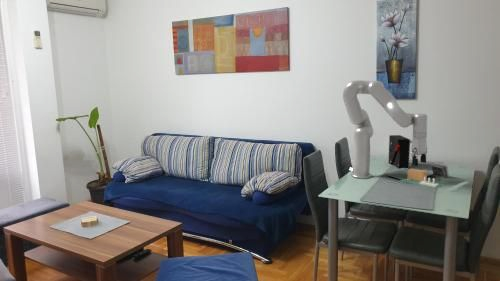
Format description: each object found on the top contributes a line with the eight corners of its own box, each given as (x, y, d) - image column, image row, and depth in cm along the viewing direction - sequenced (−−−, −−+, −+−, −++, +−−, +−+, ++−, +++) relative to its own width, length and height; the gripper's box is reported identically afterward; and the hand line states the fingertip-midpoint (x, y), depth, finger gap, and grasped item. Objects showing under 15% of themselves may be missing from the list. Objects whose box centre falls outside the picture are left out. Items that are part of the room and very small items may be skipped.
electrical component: (411, 168, 263) (412, 139, 259) (396, 168, 263) (397, 139, 260) (401, 162, 280) (403, 135, 277) (387, 162, 280) (388, 135, 277)
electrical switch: (449, 179, 234) (449, 164, 233) (442, 181, 233) (442, 166, 231) (437, 176, 243) (437, 161, 241) (430, 177, 242) (430, 163, 240)
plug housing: (407, 178, 233) (407, 169, 232) (411, 177, 236) (411, 168, 235) (423, 181, 226) (423, 172, 225) (426, 180, 229) (427, 171, 228)
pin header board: (398, 183, 230) (399, 173, 229) (410, 178, 238) (411, 169, 238) (436, 191, 213) (436, 181, 212) (447, 185, 222) (448, 176, 221)
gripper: (420, 132, 235) (420, 160, 238) (406, 136, 224) (405, 165, 227) (433, 133, 229) (432, 162, 232) (418, 137, 218) (418, 167, 221)
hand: (419, 163), depth 229 cm, fingers open, 9 cm apart
